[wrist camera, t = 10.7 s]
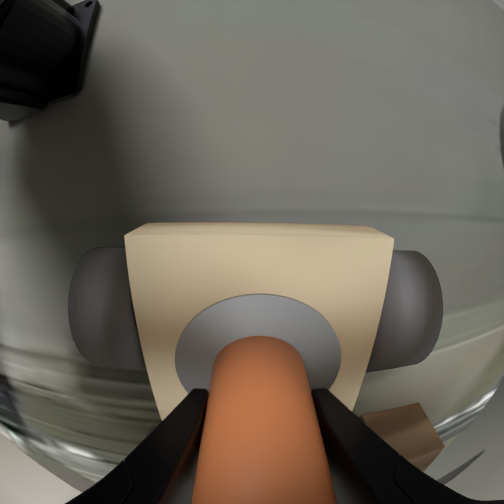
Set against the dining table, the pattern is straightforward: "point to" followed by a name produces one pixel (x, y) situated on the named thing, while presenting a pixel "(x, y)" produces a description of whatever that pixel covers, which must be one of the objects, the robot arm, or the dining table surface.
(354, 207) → the dining table surface
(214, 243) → the trolley
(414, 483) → the robot arm
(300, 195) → the dining table surface
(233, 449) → the pin
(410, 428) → the block
